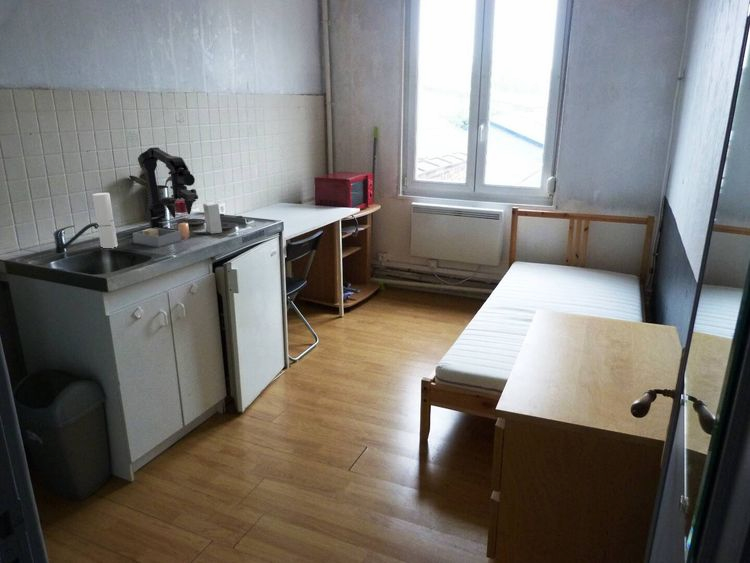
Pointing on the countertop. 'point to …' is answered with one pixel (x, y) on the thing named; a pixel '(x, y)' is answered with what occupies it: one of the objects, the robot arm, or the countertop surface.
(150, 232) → the beech cube
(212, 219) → the skincare box
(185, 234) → the terracotta cylinder
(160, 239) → the tote
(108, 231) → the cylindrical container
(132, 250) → the countertop surface
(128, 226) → the countertop surface
